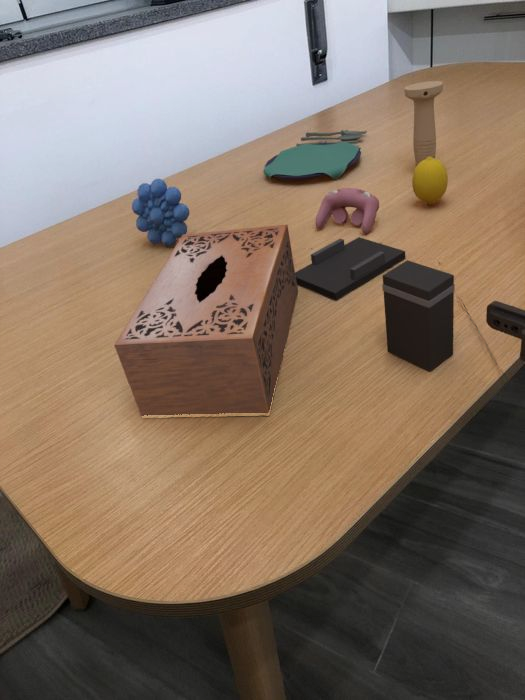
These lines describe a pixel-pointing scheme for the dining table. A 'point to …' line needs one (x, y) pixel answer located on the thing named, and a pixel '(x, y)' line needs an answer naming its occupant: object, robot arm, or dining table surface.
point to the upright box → (419, 314)
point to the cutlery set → (316, 157)
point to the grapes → (160, 212)
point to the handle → (424, 117)
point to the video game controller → (348, 198)
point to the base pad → (346, 266)
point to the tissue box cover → (213, 324)
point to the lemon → (430, 180)
